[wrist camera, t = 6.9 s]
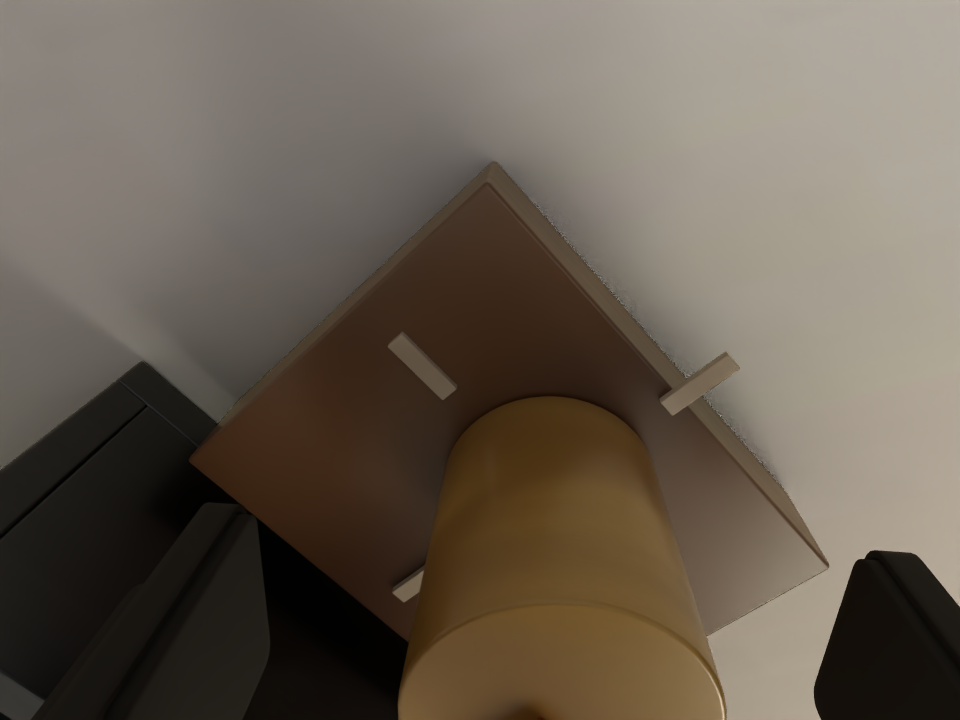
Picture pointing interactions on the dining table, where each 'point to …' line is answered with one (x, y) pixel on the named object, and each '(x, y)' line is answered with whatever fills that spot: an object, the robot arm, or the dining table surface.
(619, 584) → the tap knob
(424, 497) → the panel
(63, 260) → the dining table surface
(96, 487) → the basin
